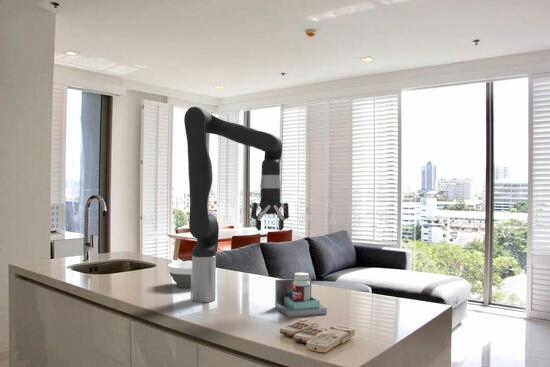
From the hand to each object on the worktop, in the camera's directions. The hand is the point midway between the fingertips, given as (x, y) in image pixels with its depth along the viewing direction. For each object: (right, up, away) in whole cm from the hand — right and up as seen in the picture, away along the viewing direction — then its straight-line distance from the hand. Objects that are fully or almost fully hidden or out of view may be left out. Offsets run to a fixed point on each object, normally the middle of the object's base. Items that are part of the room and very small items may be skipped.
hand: (269, 230), depth 165 cm
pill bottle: (+11, -26, -9) cm, 30 cm away
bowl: (-37, -29, +32) cm, 56 cm away
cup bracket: (+11, -28, -8) cm, 31 cm away
